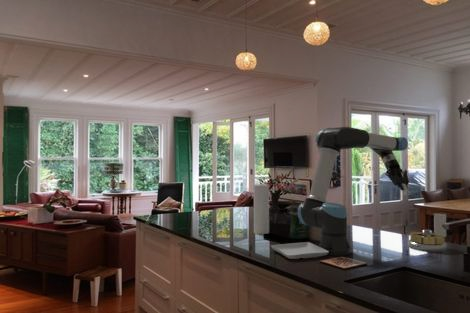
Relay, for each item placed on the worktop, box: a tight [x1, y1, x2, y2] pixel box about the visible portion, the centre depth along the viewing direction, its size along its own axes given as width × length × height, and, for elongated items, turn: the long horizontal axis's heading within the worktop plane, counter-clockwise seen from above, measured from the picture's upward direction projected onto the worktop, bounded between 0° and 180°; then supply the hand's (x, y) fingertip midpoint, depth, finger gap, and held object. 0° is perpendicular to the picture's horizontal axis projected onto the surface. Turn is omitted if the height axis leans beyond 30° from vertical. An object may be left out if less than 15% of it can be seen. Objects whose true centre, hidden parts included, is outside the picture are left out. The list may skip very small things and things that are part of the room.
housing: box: [408, 229, 447, 253], centre depth 194 cm, size 17×17×9 cm
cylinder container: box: [253, 183, 270, 235], centre depth 237 cm, size 9×9×30 cm
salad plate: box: [270, 241, 329, 260], centre depth 182 cm, size 21×21×3 cm
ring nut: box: [409, 213, 447, 244], centre depth 194 cm, size 16×15×14 cm
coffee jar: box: [289, 205, 308, 240], centre depth 220 cm, size 10×8×19 cm
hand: (407, 194), depth 209 cm, fingers closed
